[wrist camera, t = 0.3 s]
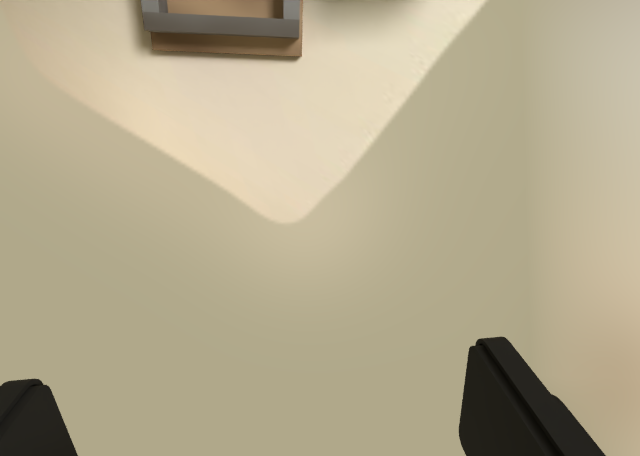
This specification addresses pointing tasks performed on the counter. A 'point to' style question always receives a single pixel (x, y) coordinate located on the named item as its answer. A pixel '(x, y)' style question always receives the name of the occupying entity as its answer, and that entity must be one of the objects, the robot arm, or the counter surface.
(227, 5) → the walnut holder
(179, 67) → the counter surface
